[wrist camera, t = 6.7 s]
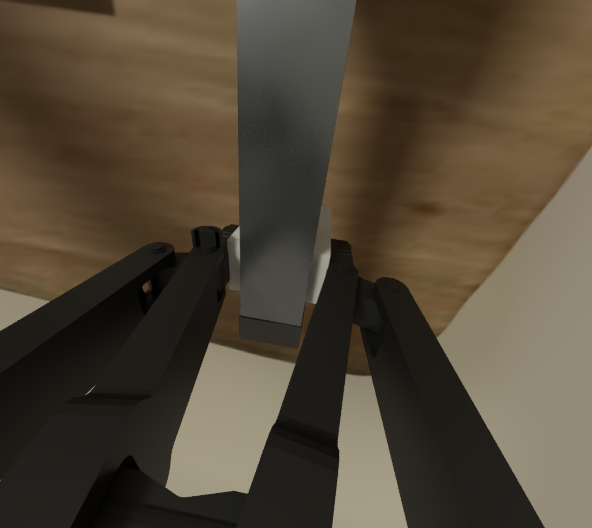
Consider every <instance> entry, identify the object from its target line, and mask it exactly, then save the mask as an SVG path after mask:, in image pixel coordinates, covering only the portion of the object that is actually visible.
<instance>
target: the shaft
mask: <svg viewBox="0 0 592 528" xmlns="http://www.w3.org/2000/svg"><path fill="white" fill-rule="evenodd" d="M356 1H357V0H237V56H238V142H239V228H240V316H239V336H240V338H244V339H249V340H254V341H260V342H265V343H271V344H276V345H282V346H287V347H292V348H298V346H299V340H300V334H301V329H302V322H303V316H304V309H305V299H306V293H307V287H308V282H309V276H310V270H311V264H312V258H313V252H314V247H315V241H316V235H317V229H318V223H319V217H320V211H321V206H322V200H323V194H324V188H325V182H326V176H327V171H328V165H329V159H330V153H331V147H332V141H333V136H334V130H335V124H336V118H337V112H338V106H339V100H340V95H341V89H342V83H343V77H344V71H345V65H346V60H347V54H348V48H349V42H350V36H351V30H352V25H353V19H354V13H355V7H356Z"/></svg>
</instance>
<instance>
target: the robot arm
mask: <svg viewBox="0 0 592 528" xmlns="http://www.w3.org/2000/svg"><path fill="white" fill-rule="evenodd" d="M191 234H192V242H193V248H192V250H191V251H190V252H187V253H175V251H174V247H173V246H172V245H171V244H168V243H163V242H159V243H158V242H156V243H152V244H148V245H146V246H144V247H142V248H140V249H139V250H137V251H135V252H134V253H132V254H130V255H128V256H127V257H125V258H123V259H122V260H120V261H118V262H117V263H115V264H113V265H112V266H110V267H108V268H106V269H105V270H103V271H101V272H100V273H98V274H96V275H95V276H93V277H91V278H89V279H88V280H86V281H84V282H83V283H81V284H79V285H78V286H76V287H74V288H73V289H71V290H69V291H67V292H66V293H64V294H62V295H61V296H59V297H57V298H56V299H54V300H52V301H50V302H49V303H47V304H45V305H44V306H42V307H40V308H39V309H37V310H35V311H34V312H32V313H30V314H29V315H27V316H25V317H23V318H22V319H20V320H18V321H17V322H15V323H13V324H12V325H10V326H8V327H6V328H5V329H3V330H1V331H0V480H1V479H2V480H1V481H0V528H332V522H333V513H334V505H335V496H336V487H337V478H338V468H339V449H338V444H337V443H338V433H339V425H340V417H341V409H342V401H343V392H344V385H345V376H346V369H347V361H348V353H349V345H350V337H351V329H352V323H354V324H356V325H358V326H360V331H361V335H362V339H363V343H364V347H365V351H366V355H367V360H368V364H369V368H370V372H371V376H372V380H373V385H374V389H375V393H376V397H377V401H378V405H379V409H380V414H381V418H382V422H383V426H384V430H385V434H386V438H387V443H388V447H389V451H390V455H391V459H392V463H393V467H394V472H395V476H396V480H397V484H398V488H399V493H400V497H401V501H402V505H403V509H404V513H405V517H406V521H407V526H408V528H545V527H544V526H543V524H542V522H541V520H540V519H539V517H538V515H537V514H536V512H535V510H534V508H533V506H532V505H531V503H530V501H529V500H528V498H527V496H526V494H525V492H524V491H523V489H522V487H521V485H520V484H519V482H518V481H517V478H516V477H515V475H514V473H513V472H512V470H511V468H510V466H509V464H508V463H507V461H506V459H505V458H504V456H503V454H502V452H501V450H500V449H499V447H498V445H497V443H496V442H495V440H494V438H493V436H492V435H491V433H490V431H489V429H488V428H487V426H486V424H485V423H484V421H483V419H482V417H481V415H480V414H479V412H478V410H477V408H476V407H475V405H474V403H473V401H472V400H471V398H470V396H469V394H468V393H467V391H466V389H465V387H464V386H463V384H462V382H461V380H460V379H459V377H458V375H457V373H456V372H455V370H454V368H453V366H452V365H451V363H450V361H449V359H448V358H447V356H446V354H445V353H444V351H443V349H442V347H441V345H440V344H439V342H438V340H437V338H436V337H435V335H434V333H433V331H432V330H431V328H430V326H429V324H428V323H427V321H426V319H425V317H424V316H423V314H422V312H421V310H420V309H419V307H418V305H417V303H416V302H415V300H414V298H413V296H412V295H411V293H410V291H409V289H408V288H407V287H406V286H405V284H403V283H402V282H400V281H399V280H396V279H394V278H388V277H382V278H379V279H377V281H376V282H375V283H372V282H369V281H367V280H364V279H362V278H361V277H359V276H358V270H357V269H356V268H355V267H354V266H353V259H352V252H351V246H350V245H349V243H348V242H347V241H342V240H336V239H331V208H330V207H323V206H321V211H320V217H319V223H318V229H317V235H316V241H315V247H314V252H313V258H312V264H311V270H310V276H309V282H308V287H307V293H306V299H305V302H307V303H313V304H316V305H315V308H314V311H313V314H312V317H311V320H310V323H309V326H308V329H307V332H306V335H305V338H304V341H303V344H302V347H301V350H300V353H299V356H298V359H297V362H296V364H295V367H294V371H293V373H292V376H291V379H290V382H289V385H288V388H287V391H286V394H285V397H284V400H283V403H282V406H281V409H280V412H279V415H278V418H277V420H276V423H275V424H274V425H273V426H272V428H271V431H270V433H269V436H268V439H267V441H266V444H265V447H264V449H263V452H262V455H261V458H260V461H259V464H258V467H257V470H256V472H255V475H254V478H253V481H252V484H251V487H250V490H249V493H248V494H245V493H241V492H237V491H230V492H222V493H215V494H208V495H200V496H192V497H179V496H177V495H175V494H174V493H172V492H171V491H170V490H168V489H167V488H165V486H166V483H167V479H168V475H169V470H170V462H171V453H172V448H173V445H174V442H175V439H176V436H177V433H178V430H179V427H180V425H181V422H182V419H183V416H184V413H185V410H186V407H187V405H188V402H189V399H190V396H191V393H192V390H193V387H194V384H195V381H196V379H197V376H198V373H199V370H200V367H201V364H202V361H203V359H204V356H205V353H206V350H207V347H208V344H209V341H210V338H211V336H212V333H213V330H214V327H215V324H216V321H217V318H218V315H219V313H220V310H221V307H222V304H223V301H224V298H225V295H226V287H225V286H226V285H227V283H228V281H229V288H230V290H236V291H240V228H239V225H233V224H231V225H229V226H226V227H225V228H224V229H223V230H221V229H220V228H218V227H214V226H201V227H197V228H194V229H193V230H191ZM146 282H148V286H149V290H148V291H146V292H144V291H143V288H142V286H143V285H144V284H145V283H146ZM94 386H95V387H94ZM93 387H94V388H93ZM92 388H93V389H92ZM91 389H92V390H91ZM90 390H91V392H90V393H88V391H90ZM86 393H88V394H87V395H85V394H86Z"/></svg>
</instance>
